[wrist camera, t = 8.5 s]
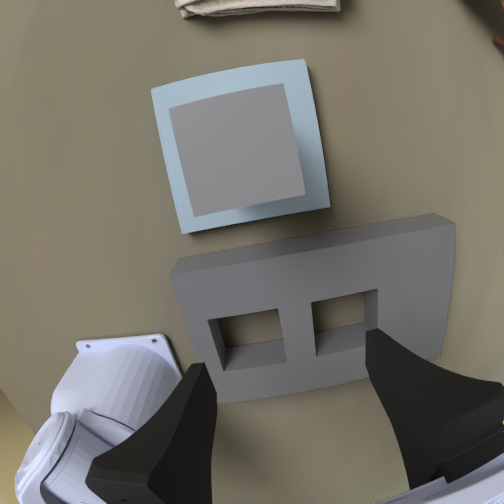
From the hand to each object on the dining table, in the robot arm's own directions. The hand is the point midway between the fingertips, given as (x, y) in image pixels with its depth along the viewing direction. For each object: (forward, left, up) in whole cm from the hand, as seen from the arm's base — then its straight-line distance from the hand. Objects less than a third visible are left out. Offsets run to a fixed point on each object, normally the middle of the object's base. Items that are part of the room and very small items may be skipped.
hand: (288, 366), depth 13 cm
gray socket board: (+4, -4, -10) cm, 12 cm away
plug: (0, +9, -9) cm, 13 cm away
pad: (0, +9, -10) cm, 14 cm away
